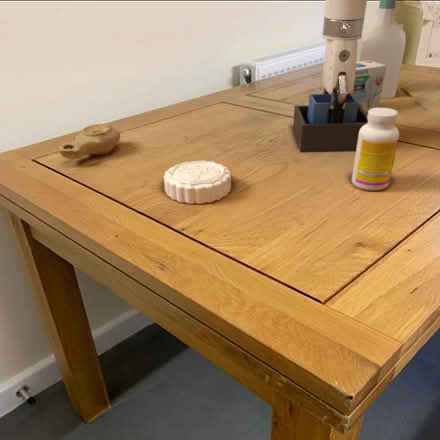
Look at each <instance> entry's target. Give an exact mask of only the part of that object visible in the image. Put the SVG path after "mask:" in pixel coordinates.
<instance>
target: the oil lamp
mask: <svg viewBox="0 0 440 440" xmlns="http://www.w3.org/2000/svg"><path fill="white" fill-rule="evenodd" d="M72 137H73V140H72V141H69V142H62V143H60V146H59V147H58V151H59V153H60V155H61V156H62V157H63V158H66V159H70V160H75V159H81V158H83V157H85V156H89V155H95V156H100V155H106V154H109V153H111V152H112V151H113V149H114V148H115V147H116V146H117V145H118V143H119V142H120V139H121V131H119V129H117V128H116V127H115V126H113V125H111V124H106V123H95V124H92V125H88V126H86V127H84V128H82V130H81V132H79V133H78V134H75V135H73V136H72Z"/></svg>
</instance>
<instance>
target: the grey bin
mask: <svg viewBox="0 0 440 440" xmlns="http://www.w3.org/2000/svg"><path fill="white" fill-rule="evenodd" d="M308 106H309V104H308V105H294V109H293V112H294V113H293V124H292V132H293V135H294V138H295V140H296V143H297V147H298V149H299V153H321V152H322V153H324V152H326V153H329V152H331V153H332V152H356V148H357V142H358V135H359V130H360V129H361V127H362V126H364V125H365V124H367V123H368V118H367V116H368V113H366V112H365V111H364V109H363V108H362V107H361V105H360V104H358V110H357V116H356V123H335V124H308V123H307V116H308Z"/></svg>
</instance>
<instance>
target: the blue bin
mask: <svg viewBox="0 0 440 440" xmlns="http://www.w3.org/2000/svg"><path fill="white" fill-rule="evenodd" d="M308 98H309V99H308V105H309V106H308V116H307V123H308V124H327V117H328V109H329V108H330V101H331V95H330V94H323V93H309V97H308ZM336 98H338V97H334V102H335V99H336ZM345 99H346V102H345V111H344V117H343V123H356V116H357V110H358V104H359V103H358V102H357V100H356V99H355V98H354V96H353V95H352V94H351V95H349V94H346V98H345Z"/></svg>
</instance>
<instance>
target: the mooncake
mask: <svg viewBox="0 0 440 440" xmlns="http://www.w3.org/2000/svg"><path fill="white" fill-rule="evenodd" d="M163 183H164V192H166V196H167V197H168V198H170V199H171V200H173V201H177V202H179V203H180V204H188V205H194V204H196V205H202V204H205V203H208V204H210V203H213V202H215V201H220V200H222V198H225V197H227V196H228V194H229V193H230V192H231V190H232V189H231V188H232V172H231V171H230V170H229V168H228V167H227V166H224V165H223V164H221V163H216V162H214V161H213V160H211V161H210V160H209V161H207V160H204V159H202V160H193V161H183V162H181V163H178V164H175V165H174V166H171V167H169V168H168V170H166V171H165V172H164V175H163Z"/></svg>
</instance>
